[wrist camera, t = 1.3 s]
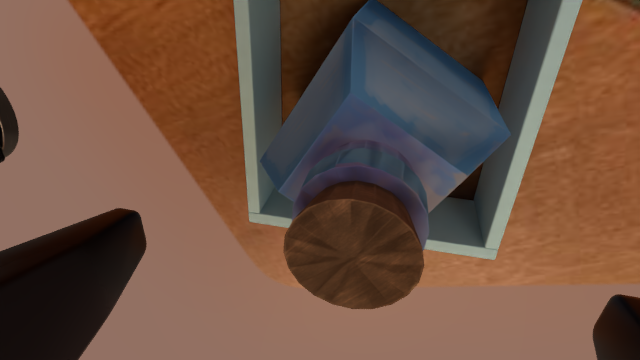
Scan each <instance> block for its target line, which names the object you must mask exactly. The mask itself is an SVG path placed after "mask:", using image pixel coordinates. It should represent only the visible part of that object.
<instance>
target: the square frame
mask: <svg viewBox="0 0 640 360" xmlns="http://www.w3.org/2000/svg"><path fill="white" fill-rule="evenodd" d="M233 1H234V15H235V29H236V43H237V57H238V71H239V85H240V99H241V113H242V127H243V141H244V155H245V169H246V183H247V197H248V211H249V222H254V223H260V224H267V225H273V226H280V227H286V228H289V226H290V225H291V223H292V211H293V203H294V202H293V201H292V200H290V199H289V198H287V197H286V196H284V195H283V194H281V193H280V192H278V190H277V189H276V187H275V185H274V184H273V182H272V181H271V179H270V177H269V176H268V174H267V173H266V171H265V169H264V168H263V166H262V164H261V163H260V159H261V158H262V156H263V155H264V153H265V152H266V150H267V149H268V147H269V146H270V144H271V142H272V141H273V139H274V138H275V136H276V135H277V133H278V132H279V130H280V129H281V127H282V98H281V40H280V0H233ZM581 3H582V0H528V3H527V6H526V10H525V14H524V17H523V21H522V24H521V28H520V32H519V35H518V39H517V43H516V46H515V50H514V54H513V57H512V61H511V65H510V68H509V72H508V76H507V79H506V83H505V86H504V90H503V94H502V97H501V101H500V105H499V108H498V111H499V113H500V114H501V116H502V118H503V120H504V122H505V124H506V126H507V128H508V130H509V132H510V133H511V136H509V137H508V138H507V139H506V140H505V141H504V142H503V143H502V144H501V145H500V146H499V147H498V148H497V149H496V150H495V151H494V152H493V153H492V154H491V155H490V156H489V157H488V158H487V159H486V160H485V161H484V163H483V167H482V170H481V174H480V178H479V181H478V185H477V189H476V192H475V196H474V201H473V200H466V199H459V198H451V197H446V198H445V199H443V200H442V201H441V202H440V203H439V204H438V205H437V206H436V207H435V208H434V209H433V210H432V211H431V212H430V213H428V216H429V235H428V238H427V241H426V245H425V248H424V249H427V250H434V251H440V252H446V253H453V254H459V255H466V256H472V257H478V258H485V259H491V260H495V258H496V255H497V252H498V248H499V245H500V243H501V240H502V237H503V234H504V231H505V228H506V225H507V222H508V219H509V216H510V213H511V210H512V207H513V204H514V201H515V198H516V195H517V192H518V189H519V186H520V183H521V180H522V177H523V174H524V171H525V168H526V166H527V163H528V160H529V157H530V154H531V151H532V148H533V145H534V142H535V139H536V136H537V133H538V130H539V127H540V124H541V121H542V118H543V115H544V112H545V109H546V106H547V103H548V100H549V97H550V94H551V91H552V89H553V86H554V83H555V80H556V77H557V74H558V71H559V68H560V65H561V62H562V59H563V56H564V53H565V50H566V47H567V44H568V41H569V38H570V35H571V32H572V29H573V26H574V23H575V20H576V17H577V14H578V12H579V9H580V6H581Z"/></svg>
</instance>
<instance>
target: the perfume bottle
mask: <svg viewBox="0 0 640 360" xmlns="http://www.w3.org/2000/svg"><path fill="white" fill-rule="evenodd" d="M509 136H511V133H510V132H509V130H508V128H507V126H506V124H505V122H504V120H503V118H502V116H501V114H500V113H499V111H498V109H497V107H496V105H495V103H494V101H493V99H492V97H491V95H490V94H489V92H488V90H487V88H486V86H485V84H484V82H483V81H482V80H481V79H480V78H478V77H477V76H476V75H474V74H473V73H472V72H470V71H469V70H468V69H466V68H465V67H464V66H462V65H461V64H460V63H459V62H457V61H456V60H455V59H453V58H452V57H451V56H449V55H448V54H447V53H445V52H444V51H443V50H441V49H440V48H439V47H438V46H436V45H435V44H434V43H432V42H431V41H430V40H428V39H427V38H426V37H424V36H423V35H422V34H420V33H419V32H418V31H416V30H415V29H414V28H413V27H411V26H410V25H409V24H407V23H406V22H405V21H403V20H402V19H401V18H399V17H398V16H397V15H395V14H394V13H393V12H391V11H390V10H389V9H388V8H386V7H385V6H384V5H382V4H381V3H380V2H378V1H377V0H369V1H368V2H367V3H366V4H365V5H364V6H363V7H362V8H361V9H360V10H359V11H358V12H357V13H356V14H355V15H354V16H353V18H352V19H351V21H350V22H349V24H348V25H347V27H346V28H345V30H344V32H343V33H342V35H341V36H340V38H339V39H338V41H337V42H336V44H335V45H334V47H333V49H332V50H331V52H330V53H329V55H328V56H327V58H326V59H325V61H324V62H323V64H322V65H321V67H320V69H319V70H318V72H317V73H316V75H315V76H314V78H313V79H312V81H311V82H310V84H309V85H308V87H307V89H306V90H305V92H304V93H303V95H302V96H301V98H300V99H299V101H298V102H297V104H296V106H295V107H294V109H293V110H292V112H291V113H290V115H289V116H288V118H287V119H286V121H285V122H284V124H283V126H282V127H281V129H280V130H279V132H278V133H277V135H276V136H275V138H274V139H273V141H272V142H271V144H270V146H269V147H268V149H267V150H266V152H265V153H264V155H263V156H262V158H261V159H260V163H261V164H262V166H263V168H264V169H265V171H266V173H267V174H268V176H269V177H270V179H271V181H272V182H273V184H274V185H275V187H276V189H277V190H278V192H280V193H281V194H283V195H284V196H286V197H287V198H289V199H290V200H292V201H293V202H294V203H293V211H292V223H291V225H290V226H289V228H288V230H287V232H286V234H285V240H284V255H285V258H286V261H287V264H288V267H289V269H290V271H291V272H292V274H293V275H294V276H295V278H296V279H297V281H298V282H299V283H300V284H301V285H302V286H303V287H305V288H306V289H307V290H308V291H310V292H311V293H312V294H313V295H315V296H317V297H319V298H321V299H323V300H325V301H327V302H329V303H331V304H334V305H338V306H342V307H347V308H351V309H375V308H379V307H383V306H387V305H391V304H393V303H395V302H397V301H399V300H400V299H402V298H404V297H405V296H407V295H408V294H409V293H410V292H411V291H412V290H413V288H414V287H415V286H416V285H417V284H418V283H419V280H420V277H421V274H422V271H423V268H424V259H423V250H424V248H425V245H426V241H427V238H428V235H429V216H428V213H430V212H431V211H432V210H433V209H434V208H435V207H436V206H437V205H438V204H439V203H440V202H441V201H442V200H443V199H445V198H446V197H447V196H448V195H449V194H450V193H451V192H452V191H453V190H454V189H455V188H456V187H457V186H458V185H460V184H461V183H462V182H463V181H464V180H465V179H466V178H467V177H468V176H469V175H470V174H471V173H472V172H473V171H474V170H475V169H476V168H477V167H478V166H479V165H481V164H482V163H483V162H484V161H485V160H486V159H487V158H488V157H489V156H490V155H491V154H492V153H493V152H494V151H495V150H496V149H497V148H498V147H499V146H500V145H501V144H502V143H503V142H504V141H505V140H506V139H507V138H508V137H509Z"/></svg>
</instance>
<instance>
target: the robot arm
mask: <svg viewBox="0 0 640 360" xmlns="http://www.w3.org/2000/svg"><path fill="white" fill-rule="evenodd" d="M4 160H5V156H4V154H3V151H2V149H1V146H0V163H1V162H3V161H4ZM145 250H146V238H145V233H144V229H143V225H142V221H141V217H140V215H139V213H138V212H136V211H134V210H128V209H122V208H118V209H114V210H111V211H109V212H106V213H103V214H100V215H98V216H95V217H92V218H90V219H87V220H84V221H81V222H79V223H76V224H73V225H71V226H68V227H65V228H62V229H60V230H57V231H54V232H52V233H49V234H46V235H43V236H41V237H38V238H36V239H33V240H30V241H27V242H25V243H22V244H19V245H16V246H14V247H11V248H9V249H6V250H3V251H0V360H78V359H79V358H80V356H81V355H82V354H83V352H84V351H85V349H86V348H87V347H88V345H89V344H90V342H91V341H92V339H93V338H94V337H95V335H96V333H97V332H98V331H99V329H100V328H101V326H102V325H103V323H104V322H105V320H106V319H107V317H108V316H109V314H110V312H111V311H112V309H113V308H114V306H115V304H116V302H117V301H118V299H119V297H120V295H121V294H122V292H123V290H124V288H125V287H126V285H127V283H128V281H129V280H130V278H131V276H132V274H133V272H134V271H135V269H136V267H137V265H138V264H139V262H140V260H141V258H142V256H143V255H144V253H145ZM593 341H594V346H595V350H596V355H597V360H640V298H638V297H632V296H625V295H615V296H613V297H611V298H610V300H609V301H608V303H607V305H606V306H605V308H604V310H603V312H602V313H601V315H600V317H599V318H598V320H597V322H596V324H595V326H594V329H593Z"/></svg>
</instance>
